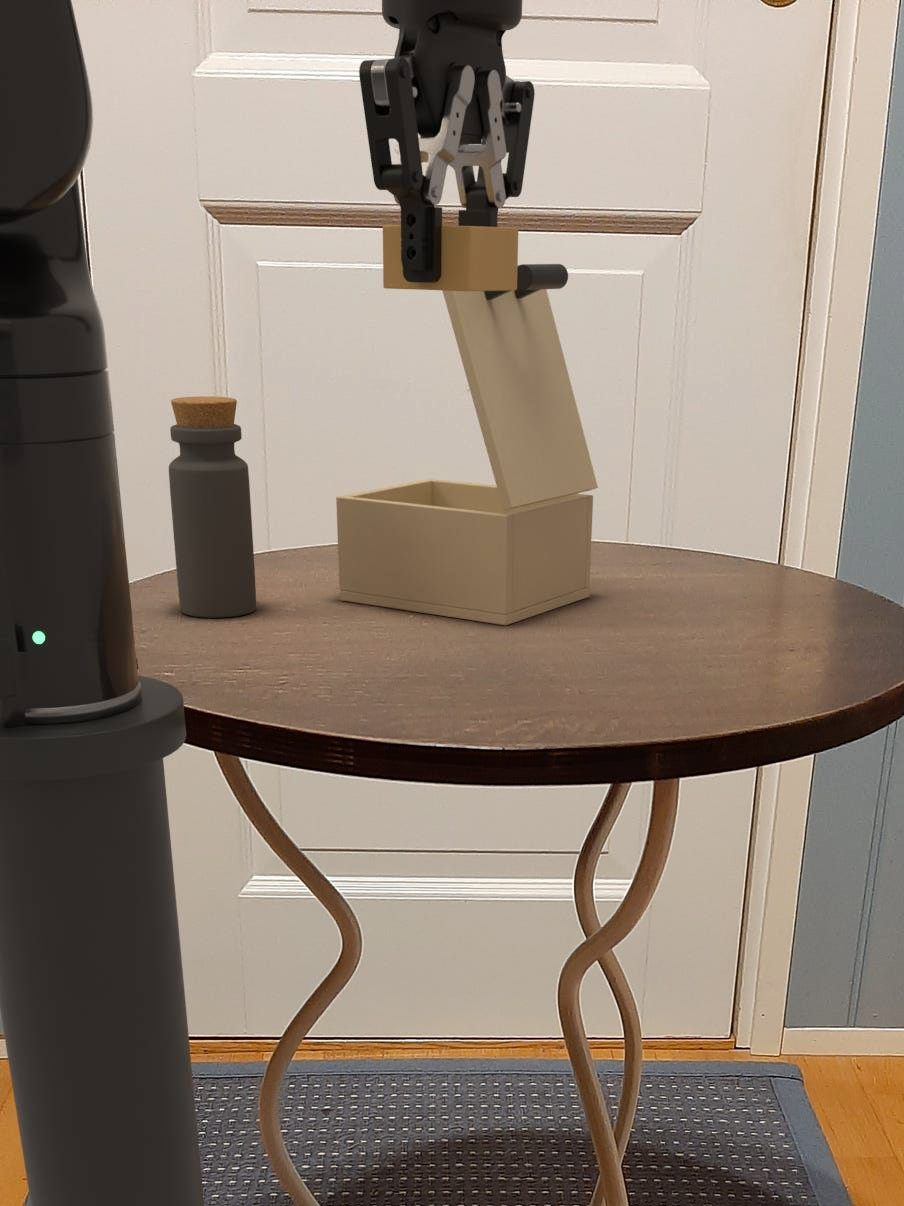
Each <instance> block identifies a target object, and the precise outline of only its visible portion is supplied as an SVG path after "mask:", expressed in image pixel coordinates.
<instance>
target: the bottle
mask: <svg viewBox="0 0 904 1206" xmlns="http://www.w3.org/2000/svg"><path fill="white" fill-rule="evenodd" d="M237 402H238V401H237V399H236V398H233V397H227V396H183V397H176V398H172V399H171V400H170V403H171V407H172V411H173V414H174V418H175V422H176V424H173V425H172V426H170V439H171V441H172V442H175V443H178V445H179V455H178V456H177V457H175V458H173V460H172V461H171V462H170V463H169V464H168V481H169V494H170V507H171V518H172V519H171V520H172V531H173V543H174V555H175V567H176V569H175V570H176V578H177V589H178V601H179V609H180V612H181V613H182V614H185V615H186V616H191V617H197V618H207V619H217V618H218V619H219V618H221V619H222V618H234V617H241V616H245V615H249V614H251V613H253V612H255V611H256V609H257V592H256V591H257V589H256V573H255V572H256V571H255V569H256V568H255V553H254V536H253V520H252V519H253V518H252V501H251V488H250V486H251V485H250V475H249V473H250V472H249V464H248V463H247V462H246V460H244V459H243V458H242V457H240V456H238V455H236V451H235V450H236V449H235V443H237V442H239V441H241V440H242V438H243V437H242V436H243V435H242V427H241V425H238V424H236V423H235V419H236V412H237V411H236V410H237Z"/></svg>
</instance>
